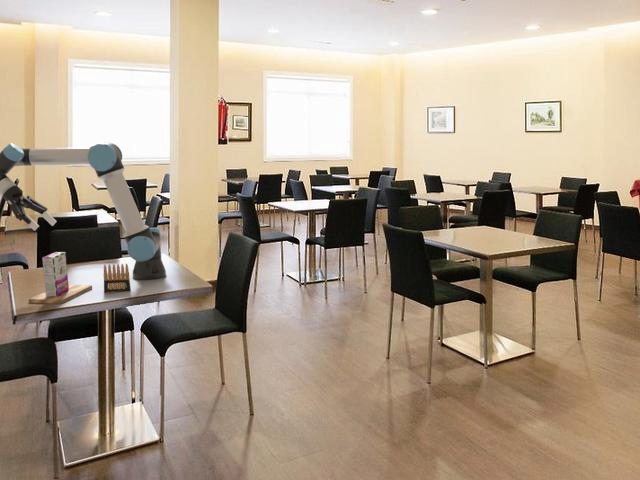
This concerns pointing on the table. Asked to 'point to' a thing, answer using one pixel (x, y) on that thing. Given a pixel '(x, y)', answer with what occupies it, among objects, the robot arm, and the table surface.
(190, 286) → the table surface
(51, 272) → the candy bar box
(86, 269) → the table surface
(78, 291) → the oak board
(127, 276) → the ammunition clip
